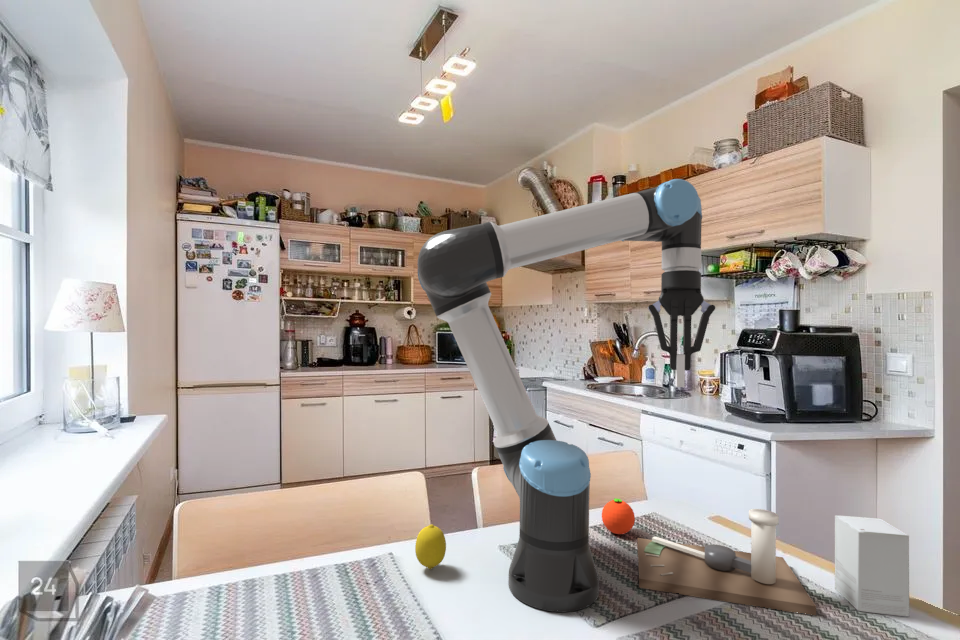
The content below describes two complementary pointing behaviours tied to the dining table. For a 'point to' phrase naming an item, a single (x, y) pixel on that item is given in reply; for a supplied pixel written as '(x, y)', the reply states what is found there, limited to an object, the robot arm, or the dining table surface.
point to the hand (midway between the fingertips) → (679, 386)
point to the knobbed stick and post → (761, 549)
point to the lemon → (430, 546)
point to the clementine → (618, 516)
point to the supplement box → (872, 565)
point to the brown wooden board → (718, 579)
